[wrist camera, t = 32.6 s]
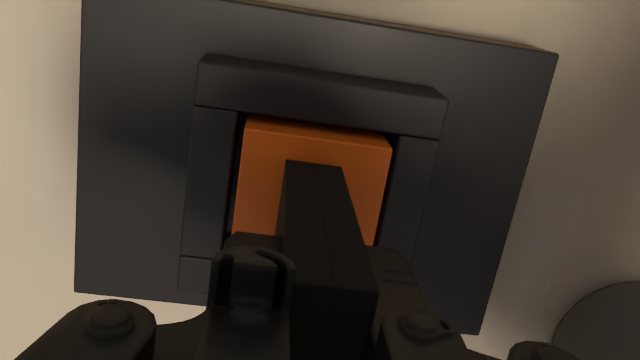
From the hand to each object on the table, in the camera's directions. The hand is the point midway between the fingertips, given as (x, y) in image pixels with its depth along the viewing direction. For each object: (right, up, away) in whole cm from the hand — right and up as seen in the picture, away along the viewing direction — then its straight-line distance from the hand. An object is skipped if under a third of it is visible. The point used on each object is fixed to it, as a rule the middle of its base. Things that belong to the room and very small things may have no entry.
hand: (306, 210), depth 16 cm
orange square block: (0, +1, +2) cm, 2 cm away
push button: (0, +2, +5) cm, 5 cm away
